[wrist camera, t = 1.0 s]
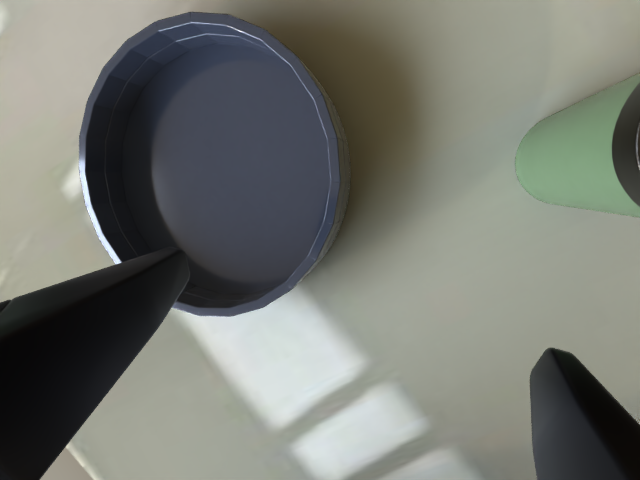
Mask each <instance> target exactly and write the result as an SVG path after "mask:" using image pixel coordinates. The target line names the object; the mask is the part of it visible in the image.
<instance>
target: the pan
mask: <svg viewBox="0 0 640 480" xmlns="http://www.w3.org/2000/svg"><path fill="white" fill-rule="evenodd" d="M79 174H80V179H81V184H82V189H83V195H84V200H85V205H86V208H87V211H88V213H89V216H90V218H91V221H92V223H93V225H94V228H95V230H96V233H97V235H98V238H99V240H100V241H101V243H102V244H103V246H104V247H105V249H106V250H107V252H108V253H109V255H110V256H111V258H112V259H113V261H114V262H115V264H119V263H122V262H125V261H128V260H131V259H134V258H137V257H140V256H143V255H146V254H149V253H152V252H155V251H158V250H161V249H164V248H167V247H174V248H178V249H181V250H183V251H184V252H185V253H186V256H187V261H188V266H189V271H190V277H189V280H188V282H187V284H186V286H185V287H184V289H183V290H182V292H181V293H180V295H179V297H178V298H177V300H176V301H175V303H174V305H173V306H172V308H175V309H178V310H181V311H185V312H188V313H191V314H194V315H198V316H225V317H231V316H235V315H239V314H242V313H246V312H250V311H253V310H257V309H260V308H263V307H265V306H267V305H268V304H270V303H271V302H273V301H274V300H276V299H278V298H279V297H281V296H282V295H284V294H285V293H287V292H289V291H290V290H292V289H293V288H294V287H295V286H296V285H297V284H298V283H299V282H301V281H302V280H303V279H304V278H305V277H306V276H307V275H308V274H309V273H310V272H311V271H312V270H313V268H314V267H315V266H316V265H317V264H318V263H319V262H320V261H321V259H322V258H323V257H324V256H325V255H326V253H327V252H328V251H329V249H330V247H331V245H332V243H333V241H334V240H335V238H336V236H337V234H338V232H339V229H340V227H341V224H342V222H343V219H344V216H345V212H346V208H347V204H348V199H349V191H350V183H351V177H350V157H349V149H348V143H347V139H346V136H345V132H344V128H343V125H342V123H341V120H340V118H339V115H338V113H337V111H336V108H335V106H334V104H333V102H332V101H331V99H330V98H329V96H328V94H327V93H326V91H325V90H324V88H323V87H322V86H321V84H320V83H319V81H318V80H317V78H316V77H315V75H314V74H313V73H312V72H311V71H310V70H309V69H308V67H307V66H306V65H305V64H304V63H303V62H302V61H301V60H300V59H299V58H298V56H296V55H295V54H294V53H293V52H292V51H291V50H289V49H288V48H287V47H286V46H285V45H283V44H282V43H281V42H280V41H279V40H277V39H276V38H275V37H274V36H273V35H271V34H270V33H269V32H268V31H267V30H265V29H263V28H261V27H258V26H256V25H253V24H251V23H249V22H246V21H244V20H241V19H239V18H237V17H234V16H232V15H228V14H218V13H203V12H188V13H184V14H180V15H177V16H173V17H169V18H165V19H162V20H158V21H156V22H154V23H152V24H151V25H149V26H148V27H146V28H144V29H143V30H141V31H140V32H138V33H137V34H135V35H134V36H132V37H131V38H129V39H128V40H127V41H125V42H124V44H123V45H122V46H121V47H120V48H119V49H118V51H117V52H116V53H115V54H114V55H113V57H112V58H111V59H110V60H109V61H108V62H107V64H106V65H105V66H104V67H103V69H102V71H101V73H100V75H99V77H98V79H97V81H96V83H95V85H94V87H93V89H92V91H91V94H90V96H89V98H88V101H87V104H86V108H85V113H84V117H83V122H82V126H81V131H80V135H79Z"/></svg>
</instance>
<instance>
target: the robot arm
mask: <svg viewBox="0 0 640 480" xmlns="http://www.w3.org/2000/svg"><path fill="white" fill-rule="evenodd" d="M189 277H190V271H189V266H188V261H187V256H186V253H185V252H184V251H183V250H181V249H178V248H174V247H167V248H164V249H161V250H158V251H155V252H152V253H149V254H146V255H143V256H140V257H137V258H134V259H131V260H128V261H125V262H122V263H119V264H116V265H113V266H110V267H107V268H104V269H101V270H98V271H95V272H92V273H89V274H86V275H82V276H79V277H76V278H73V279H70V280H67V281H64V282H61V283H58V284H55V285H52V286H49V287H46V288H43V289H40V290H37V291H34V292H31V293H28V294H25V295H22V296H19V297H16V298H14V299H12V300H7V301H4V302H1V303H0V480H40V479H41V477H42V476H43V475H44V473H45V472H46V471H47V470H48V468H49V467H50V466H51V465H52V463H53V462H54V461H55V459H56V458H57V457H58V456H59V454H60V453H61V452H62V450H63V449H64V448H65V447H66V445H67V444H68V443H69V442H70V440H71V439H72V438H73V436H74V435H75V434H76V433H77V431H78V430H79V429H80V427H81V426H82V425H83V424H84V422H85V421H86V420H87V419H88V417H89V416H90V415H91V413H92V412H93V411H94V410H95V408H96V407H97V406H98V404H99V403H100V402H101V401H102V399H103V398H104V397H105V396H106V394H107V393H108V392H109V390H110V389H111V388H112V387H113V385H114V384H115V383H116V382H117V380H118V379H119V378H120V376H121V375H122V374H123V373H124V371H125V370H126V369H127V367H128V366H129V365H130V364H131V362H132V361H133V360H134V359H135V357H136V356H137V355H138V353H139V352H140V351H141V350H142V348H143V347H144V346H145V344H146V343H147V342H148V341H149V339H150V338H151V337H152V336H153V334H154V333H155V332H156V330H157V329H158V328H159V326H160V325H161V323H162V322H163V320H164V319H165V317H166V316H167V314H168V312H169V311H170V309H171V308H172V306H173V305H174V303H175V301H176V300H177V298H178V297H179V295H180V293H181V292H182V290H183V289H184V287H185V286H186V284H187V282H188V280H189ZM530 399H531V423H532V444H533V455H534V462H535V469H536V475H537V480H640V425H639V424H638V423H637V422H636V420H635V419H634V418H633V417H632V416H631V415H630V414H629V413H628V412H627V411H626V410H625V409H624V408H623V407H622V406H621V405H620V403H619V402H618V401H617V400H616V399H615V398H614V397H613V396H612V395H611V394H610V393H609V392H608V391H607V390H606V389H605V388H604V386H603V385H602V384H601V383H600V382H599V381H598V380H597V379H596V378H595V377H594V376H593V375H592V374H591V373H590V372H589V371H588V369H587V368H586V367H585V366H584V365H583V364H582V363H581V362H580V361H579V360H578V359H577V358H576V357H575V356H574V355H573V354H572V353H570V352H567V351H563V350H559V349H555V348H548V349H546V350H545V352H544V353H543V355H542V356H541V357H540V359H539V360H538V362H537V363H536V365H535V366H534V368H533V369H532V371H531V375H530Z"/></svg>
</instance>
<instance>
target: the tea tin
mask: <svg viewBox="0 0 640 480" xmlns="http://www.w3.org/2000/svg"><path fill="white" fill-rule="evenodd" d="M515 167H516V173H517V177H518V179H519V181H520V183H521V185H522V186H523V188H524V189H525V190H526V191H527V192H528V193H529V194H530V195H532V196H533V197H534V198H536V199H538V200H540V201H543V202H546V203H550V204H555V205H561V206H568V207H574V208H581V209H587V210H594V211H600V212H607V213H613V214H620V215H626V216H633V217H639V218H640V73H638V74H636V75H634V76H632V77H630V78H628V79H626V80H624V81H622V82H620V83H618V84H615V85H613V86H611V87H609V88H607V89H605V90H603V91H601V92H599V93H597V94H595V95H593V96H591V97H588V98H586V99H584V100H582V101H580V102H578V103H576V104H574V105H572V106H570V107H568V108H566V109H564V110H562V111H559V112H557V113H555V114H553V115H551V116H549V117H547V118H545V119H543V120H542V121H540V122H539V123H537V124H536V125H535V126H534V127H533V128H531V129H530V130H529V132H528V133H527V134H526V135H525V137H524V138H523V140H522V141H521V143H520V145H519V148H518V150H517V154H516V160H515Z"/></svg>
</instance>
